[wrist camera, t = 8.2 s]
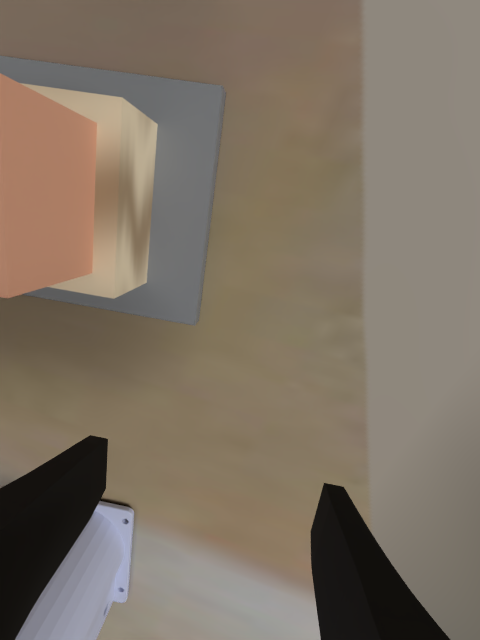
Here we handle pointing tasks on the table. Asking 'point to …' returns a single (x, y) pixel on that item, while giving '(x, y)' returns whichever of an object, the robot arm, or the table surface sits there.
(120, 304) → the base plate
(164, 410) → the table surface
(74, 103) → the maple brick
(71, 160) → the terracotta brick
